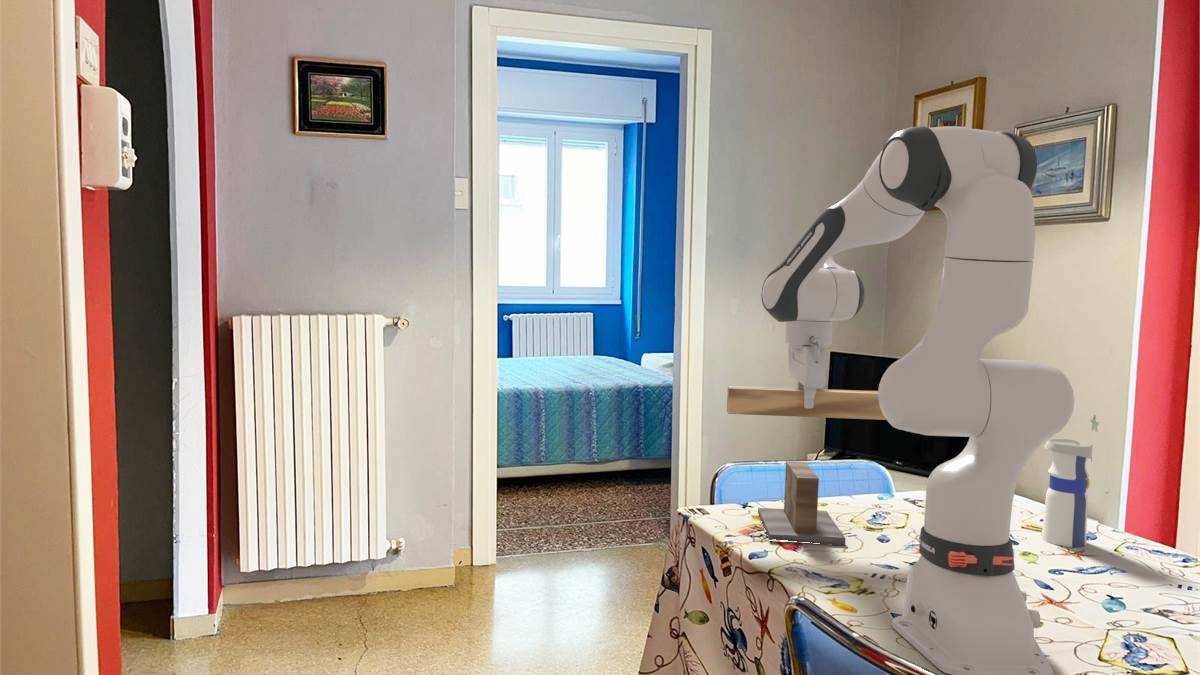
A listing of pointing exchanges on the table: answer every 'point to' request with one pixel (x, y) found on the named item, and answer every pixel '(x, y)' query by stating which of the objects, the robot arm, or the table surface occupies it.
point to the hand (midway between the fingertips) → (805, 405)
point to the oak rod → (792, 403)
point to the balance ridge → (801, 511)
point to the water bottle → (1067, 492)
